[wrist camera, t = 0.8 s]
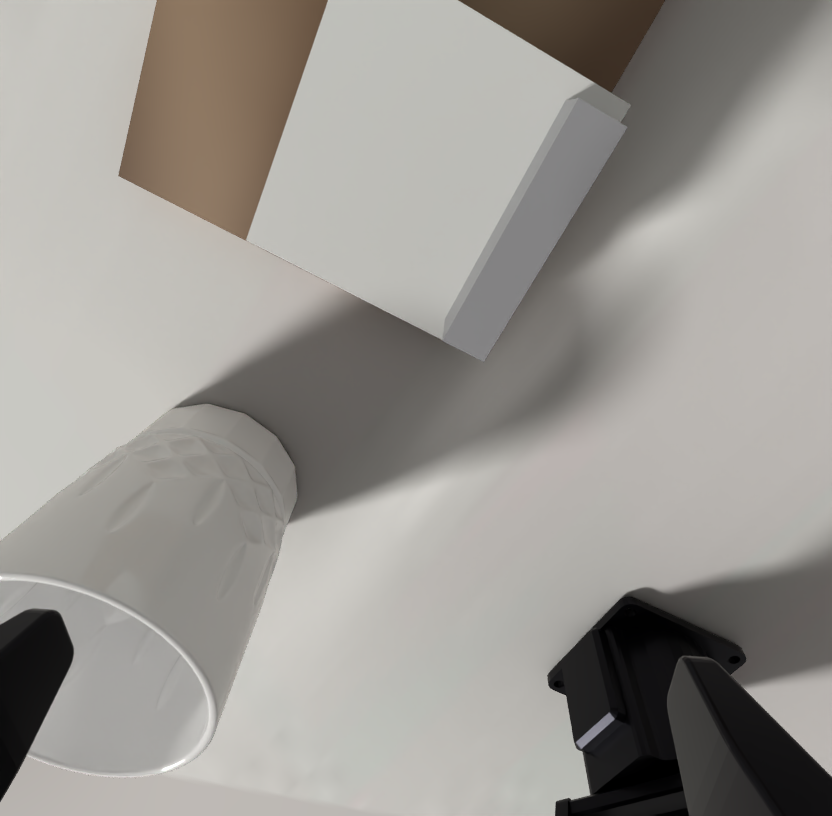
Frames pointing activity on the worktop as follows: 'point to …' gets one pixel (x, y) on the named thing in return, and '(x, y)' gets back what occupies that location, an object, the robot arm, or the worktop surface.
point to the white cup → (153, 587)
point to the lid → (432, 164)
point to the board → (279, 80)
